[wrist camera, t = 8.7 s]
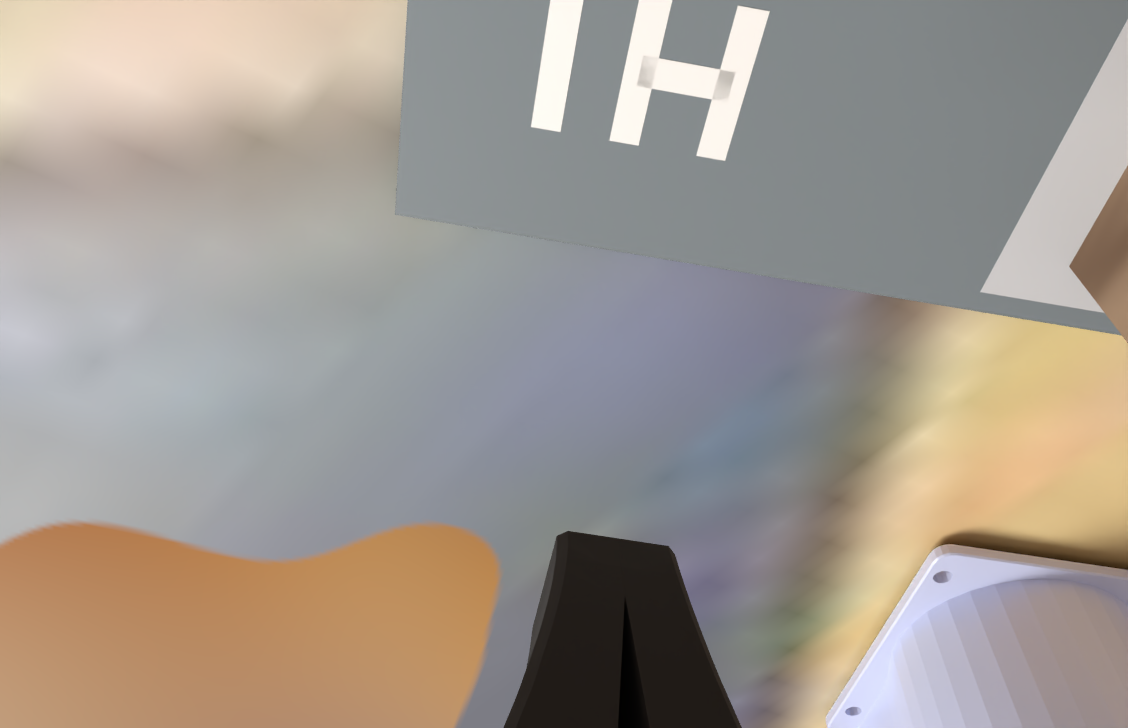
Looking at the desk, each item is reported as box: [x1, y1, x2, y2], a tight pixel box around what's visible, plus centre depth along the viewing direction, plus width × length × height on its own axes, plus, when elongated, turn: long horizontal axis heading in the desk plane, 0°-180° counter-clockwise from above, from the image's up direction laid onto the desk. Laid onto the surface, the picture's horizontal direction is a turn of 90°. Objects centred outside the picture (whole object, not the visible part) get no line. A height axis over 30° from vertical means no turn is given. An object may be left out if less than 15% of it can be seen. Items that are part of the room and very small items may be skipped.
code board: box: [395, 0, 1128, 335], centre depth 18 cm, size 8×21×1 cm, turn 81°
